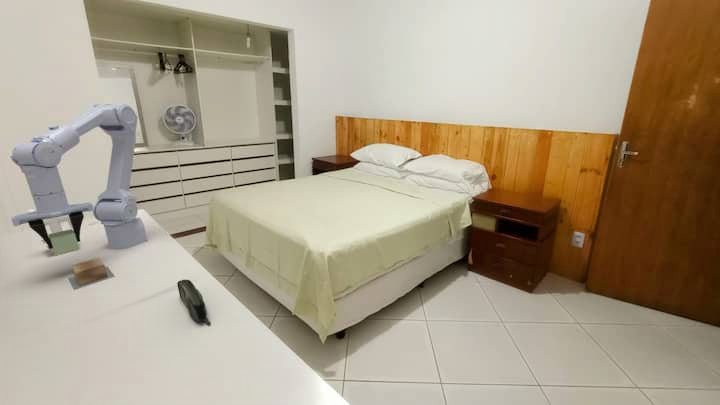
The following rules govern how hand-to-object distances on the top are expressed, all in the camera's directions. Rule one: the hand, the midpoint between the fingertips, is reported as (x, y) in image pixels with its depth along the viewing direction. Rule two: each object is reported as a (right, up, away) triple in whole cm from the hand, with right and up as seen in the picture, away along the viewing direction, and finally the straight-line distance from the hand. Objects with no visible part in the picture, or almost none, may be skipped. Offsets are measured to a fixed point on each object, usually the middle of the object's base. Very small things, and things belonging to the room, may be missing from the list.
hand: (64, 244), depth 80 cm
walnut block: (+7, -8, 0) cm, 11 cm away
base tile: (+7, -10, 0) cm, 12 cm away
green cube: (0, -2, +1) cm, 2 cm away
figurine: (-18, -4, +18) cm, 26 cm away
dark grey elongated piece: (+39, -13, -11) cm, 42 cm away
